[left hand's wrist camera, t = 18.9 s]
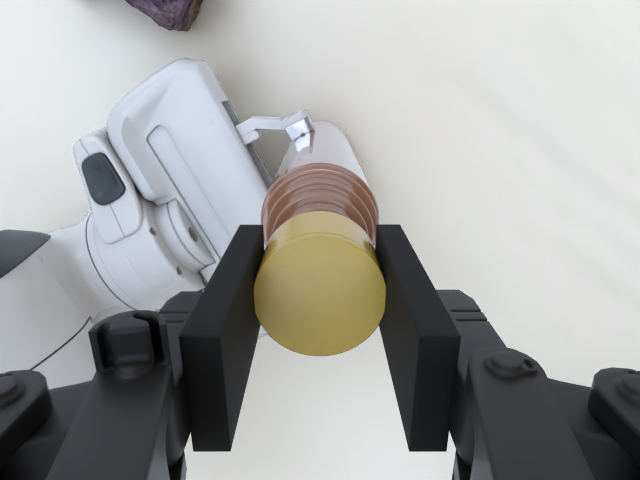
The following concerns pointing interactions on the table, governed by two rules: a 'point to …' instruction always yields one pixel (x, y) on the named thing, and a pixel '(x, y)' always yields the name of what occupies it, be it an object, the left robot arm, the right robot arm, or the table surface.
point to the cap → (319, 285)
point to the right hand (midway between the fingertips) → (331, 160)
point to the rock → (169, 12)
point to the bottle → (320, 182)
